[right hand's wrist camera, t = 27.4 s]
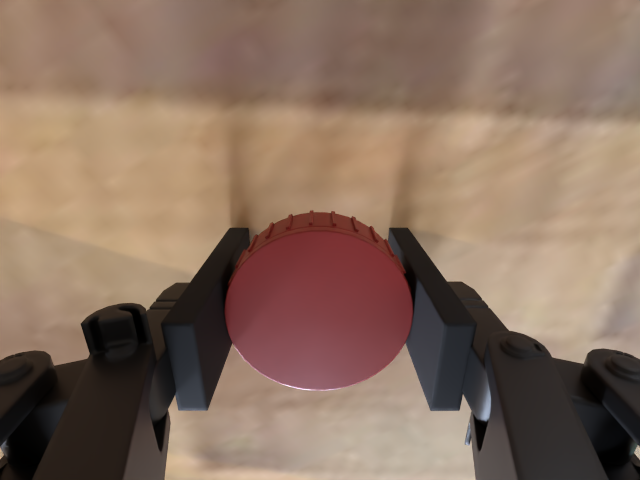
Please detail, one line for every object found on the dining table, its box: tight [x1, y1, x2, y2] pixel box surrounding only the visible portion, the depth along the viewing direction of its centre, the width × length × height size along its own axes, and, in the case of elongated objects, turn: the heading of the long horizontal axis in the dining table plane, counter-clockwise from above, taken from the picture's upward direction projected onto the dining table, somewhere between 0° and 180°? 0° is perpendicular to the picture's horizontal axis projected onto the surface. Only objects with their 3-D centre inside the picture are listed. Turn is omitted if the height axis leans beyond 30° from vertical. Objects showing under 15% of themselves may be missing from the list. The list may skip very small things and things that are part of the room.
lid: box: [224, 211, 413, 390], centre depth 11 cm, size 6×6×2 cm
